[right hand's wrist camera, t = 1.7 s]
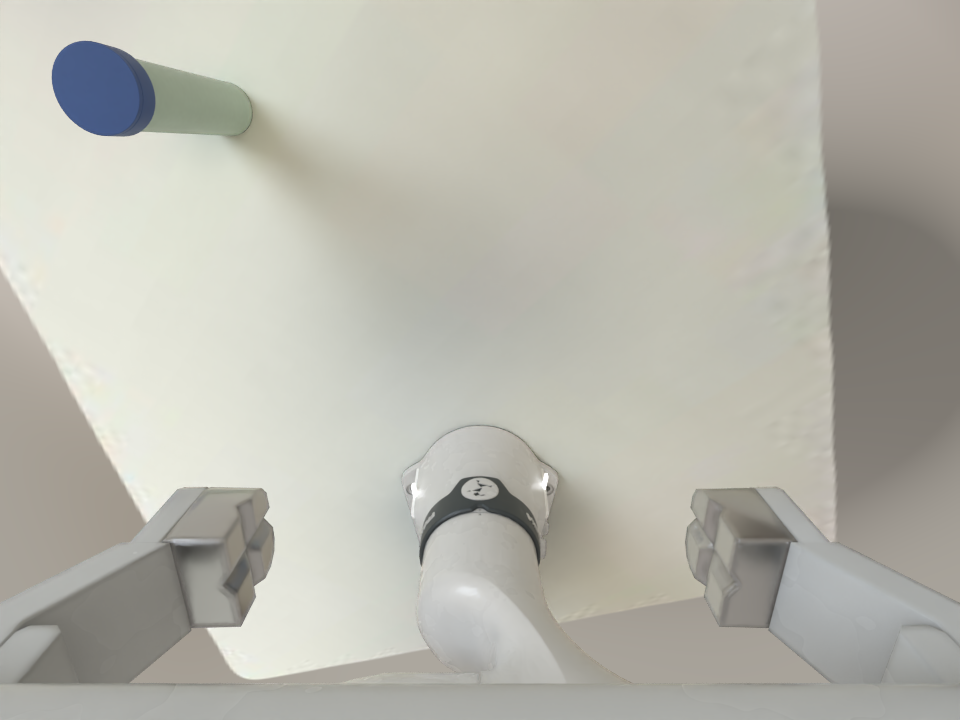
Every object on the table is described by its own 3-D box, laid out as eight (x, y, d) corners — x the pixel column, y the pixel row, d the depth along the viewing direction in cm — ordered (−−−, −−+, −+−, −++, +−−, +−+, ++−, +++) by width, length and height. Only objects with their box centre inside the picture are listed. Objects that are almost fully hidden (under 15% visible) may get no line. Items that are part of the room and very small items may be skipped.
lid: (54, 67, 35) (33, 63, 33) (123, 31, 34) (104, 25, 33) (106, 149, 37) (87, 149, 35) (172, 116, 36) (156, 114, 34)
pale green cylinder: (193, 95, 51) (46, 68, 34) (235, 73, 50) (108, 35, 33) (220, 143, 53) (93, 142, 35) (261, 123, 52) (152, 111, 35)
